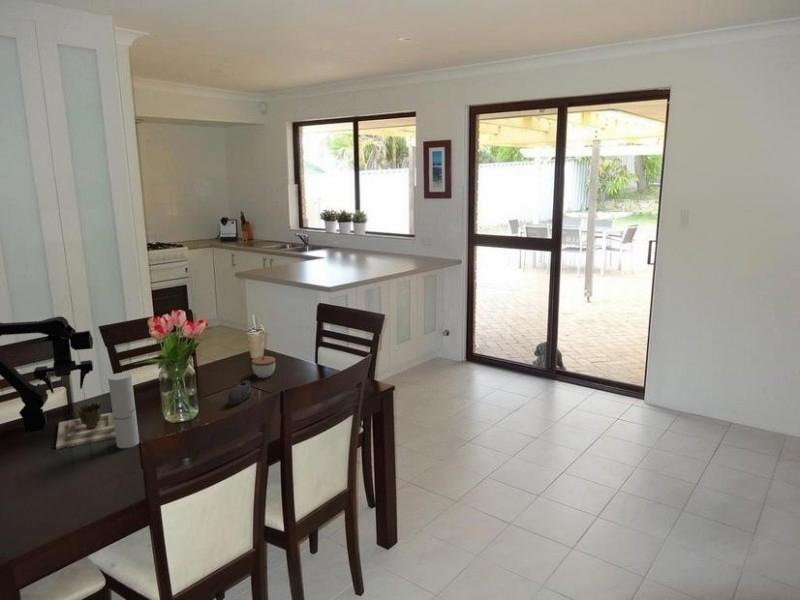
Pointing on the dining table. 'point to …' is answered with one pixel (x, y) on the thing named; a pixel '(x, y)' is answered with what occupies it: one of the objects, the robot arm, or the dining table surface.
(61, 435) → the docking plate
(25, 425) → the robot arm
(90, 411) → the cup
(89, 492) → the dining table surface
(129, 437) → the cylindrical container
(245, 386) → the perforated stone tool
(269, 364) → the lidded jar
